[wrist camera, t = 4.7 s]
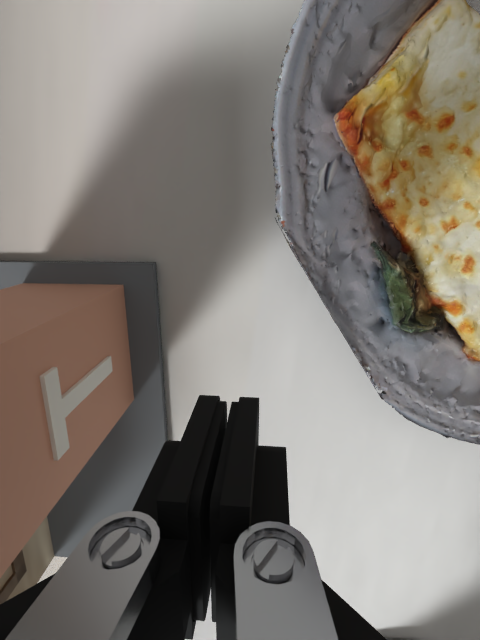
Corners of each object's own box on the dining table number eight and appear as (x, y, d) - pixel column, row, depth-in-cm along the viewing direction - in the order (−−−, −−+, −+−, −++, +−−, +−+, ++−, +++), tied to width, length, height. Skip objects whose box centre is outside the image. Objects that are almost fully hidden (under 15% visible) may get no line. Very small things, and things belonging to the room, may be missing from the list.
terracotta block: (126, 284, 17) (-57, 375, 8) (137, 399, 19) (-3, 590, 9) (22, 283, 18) (-271, 366, 8) (42, 395, 19) (-183, 573, 10)
